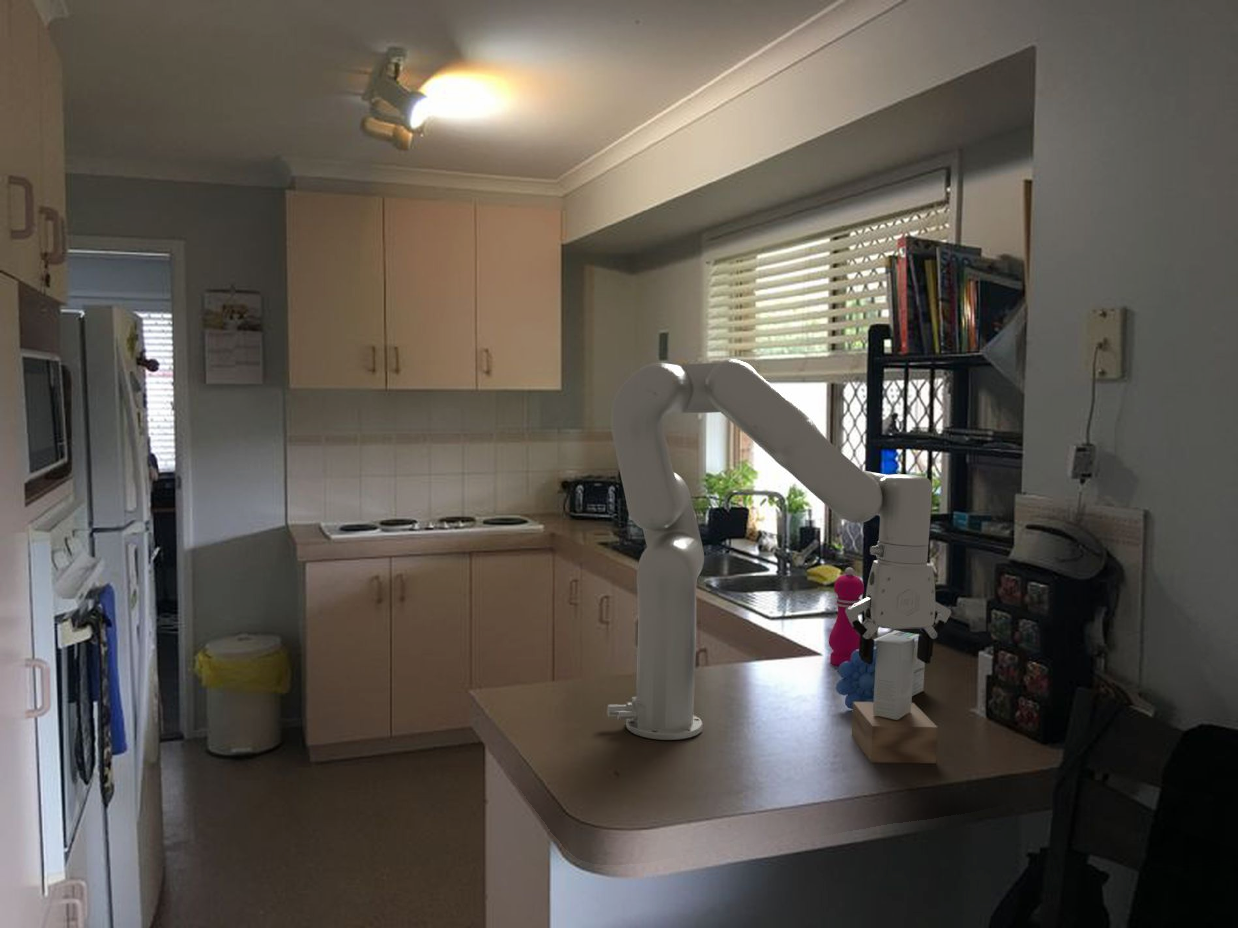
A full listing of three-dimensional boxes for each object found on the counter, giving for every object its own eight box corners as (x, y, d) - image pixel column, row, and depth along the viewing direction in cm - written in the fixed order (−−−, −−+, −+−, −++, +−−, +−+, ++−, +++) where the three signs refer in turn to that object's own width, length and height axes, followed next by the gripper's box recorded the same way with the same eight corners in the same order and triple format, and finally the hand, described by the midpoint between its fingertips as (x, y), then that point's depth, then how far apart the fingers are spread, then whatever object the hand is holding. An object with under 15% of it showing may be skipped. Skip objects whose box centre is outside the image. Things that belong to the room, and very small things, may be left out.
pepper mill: (851, 657, 219) (855, 563, 218) (870, 666, 212) (874, 569, 211) (821, 659, 217) (825, 564, 215) (839, 668, 210) (843, 571, 208)
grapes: (907, 713, 182) (910, 646, 182) (896, 723, 177) (899, 654, 176) (843, 701, 188) (846, 636, 188) (830, 710, 183) (833, 643, 182)
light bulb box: (891, 683, 201) (894, 628, 200) (924, 691, 196) (927, 635, 195) (866, 695, 192) (869, 638, 191) (900, 703, 188) (903, 645, 187)
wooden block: (870, 764, 158) (872, 726, 158) (851, 737, 170) (852, 701, 170) (935, 765, 159) (937, 727, 158) (911, 738, 171) (913, 702, 170)
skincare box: (885, 706, 168) (890, 633, 167) (911, 712, 165) (916, 637, 164) (871, 715, 163) (875, 639, 162) (897, 720, 160) (902, 644, 159)
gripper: (860, 557, 156) (853, 668, 158) (965, 558, 160) (957, 667, 161) (840, 549, 164) (833, 655, 165) (941, 550, 167) (934, 654, 169)
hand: (895, 661), depth 163 cm, fingers open, 9 cm apart
